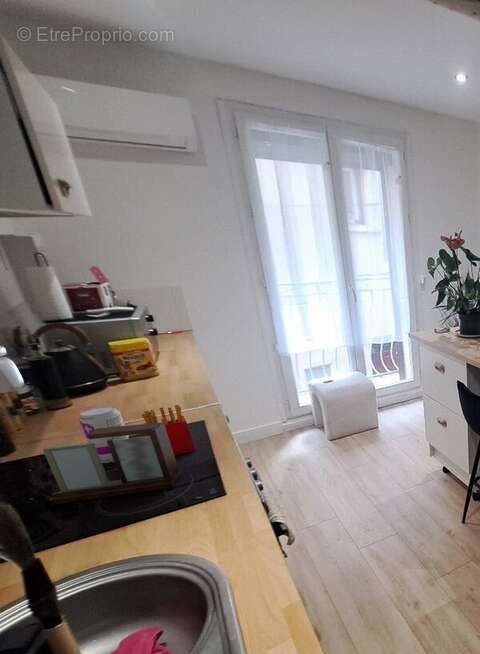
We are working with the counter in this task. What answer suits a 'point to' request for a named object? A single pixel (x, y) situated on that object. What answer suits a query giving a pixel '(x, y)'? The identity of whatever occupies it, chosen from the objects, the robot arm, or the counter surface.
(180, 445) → the french fries container
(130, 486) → the window frame
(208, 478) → the counter surface
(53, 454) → the sliding pane
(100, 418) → the supplement can
